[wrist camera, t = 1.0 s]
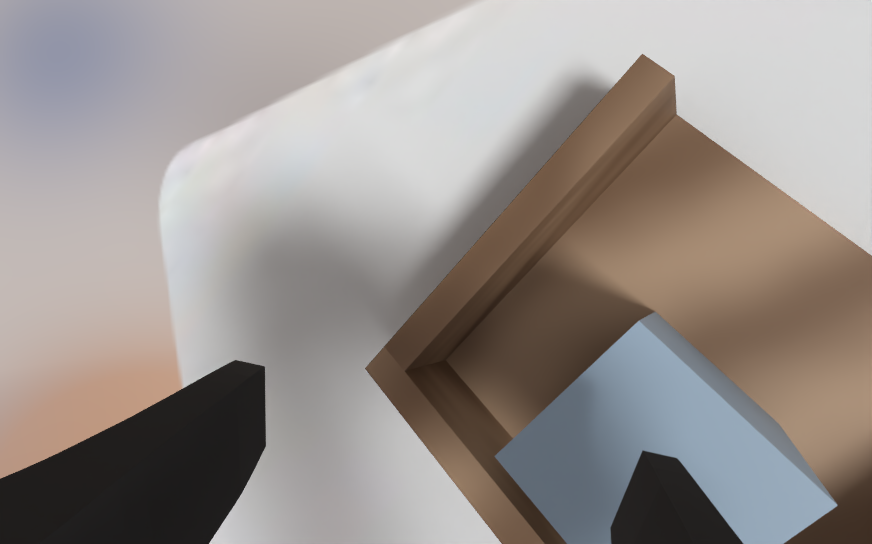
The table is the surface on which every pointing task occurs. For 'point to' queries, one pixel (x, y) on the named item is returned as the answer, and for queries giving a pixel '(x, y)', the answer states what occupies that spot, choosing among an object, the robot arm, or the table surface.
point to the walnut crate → (643, 306)
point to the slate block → (662, 443)
